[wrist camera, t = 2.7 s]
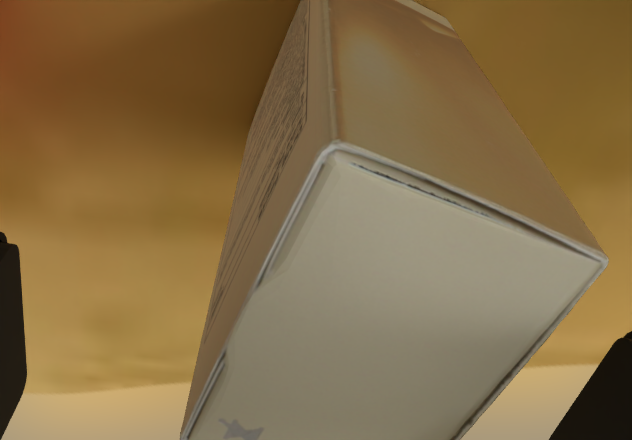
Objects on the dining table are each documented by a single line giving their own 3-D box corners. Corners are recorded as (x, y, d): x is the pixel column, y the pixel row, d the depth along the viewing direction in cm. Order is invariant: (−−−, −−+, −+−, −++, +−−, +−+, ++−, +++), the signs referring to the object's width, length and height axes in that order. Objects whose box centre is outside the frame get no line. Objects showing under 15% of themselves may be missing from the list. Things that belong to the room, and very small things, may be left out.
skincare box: (361, 179, 21) (397, 520, 11) (243, 134, 20) (165, 460, 10) (457, 7, 18) (635, 267, 8) (322, -58, 17) (324, 143, 7)
